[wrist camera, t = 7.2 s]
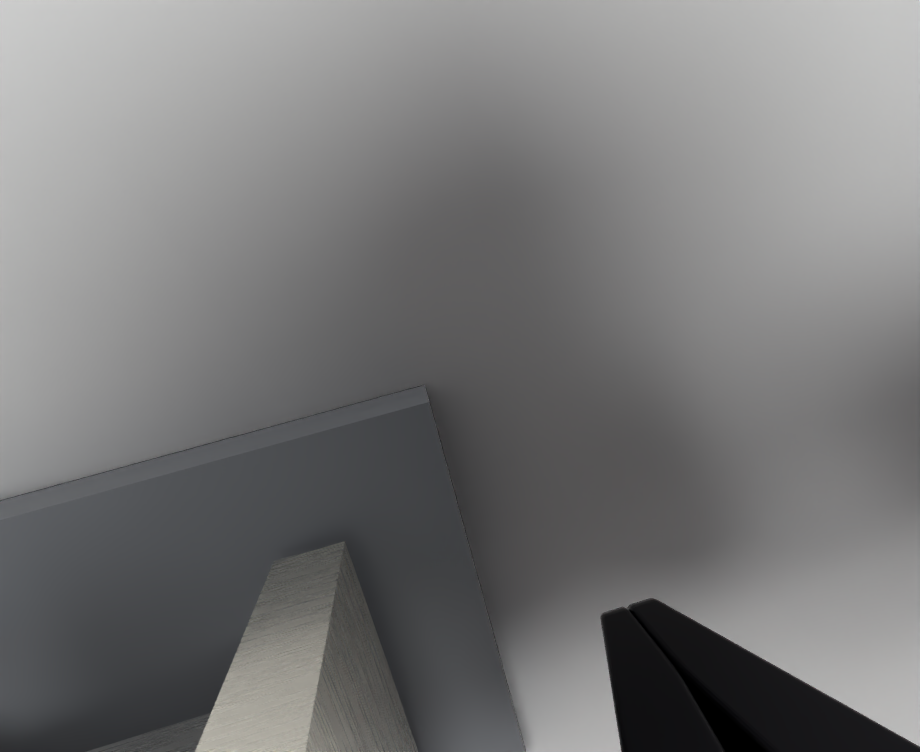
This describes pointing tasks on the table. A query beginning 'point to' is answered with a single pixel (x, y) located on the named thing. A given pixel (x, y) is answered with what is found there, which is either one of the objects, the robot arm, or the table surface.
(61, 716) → the gauge bed
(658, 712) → the robot arm
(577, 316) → the table surface
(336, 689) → the plunger
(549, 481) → the table surface
